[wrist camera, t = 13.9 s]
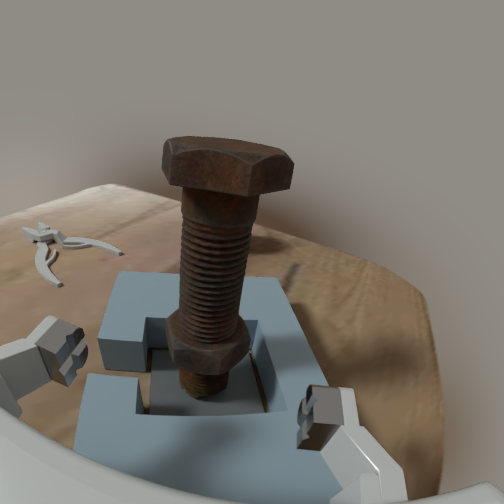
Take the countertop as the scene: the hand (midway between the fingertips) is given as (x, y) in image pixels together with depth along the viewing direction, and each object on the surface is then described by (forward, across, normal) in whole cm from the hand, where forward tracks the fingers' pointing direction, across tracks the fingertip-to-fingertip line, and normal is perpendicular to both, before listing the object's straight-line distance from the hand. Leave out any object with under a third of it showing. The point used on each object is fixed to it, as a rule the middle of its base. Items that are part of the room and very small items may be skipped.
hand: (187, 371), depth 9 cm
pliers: (+19, -22, -10) cm, 31 cm away
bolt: (+6, 0, -9) cm, 11 cm away
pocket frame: (+6, 0, -9) cm, 10 cm away
